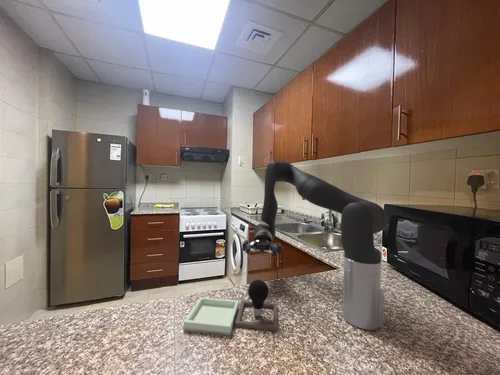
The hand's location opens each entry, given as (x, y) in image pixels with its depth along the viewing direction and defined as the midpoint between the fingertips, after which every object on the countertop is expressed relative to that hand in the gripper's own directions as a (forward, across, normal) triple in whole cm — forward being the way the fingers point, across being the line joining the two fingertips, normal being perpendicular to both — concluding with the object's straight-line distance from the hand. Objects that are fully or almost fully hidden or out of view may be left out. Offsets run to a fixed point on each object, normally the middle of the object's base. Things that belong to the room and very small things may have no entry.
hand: (260, 252), depth 70 cm
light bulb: (+12, 0, +15) cm, 19 cm away
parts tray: (+14, -12, +14) cm, 24 cm away
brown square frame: (+12, 0, +14) cm, 18 cm away
